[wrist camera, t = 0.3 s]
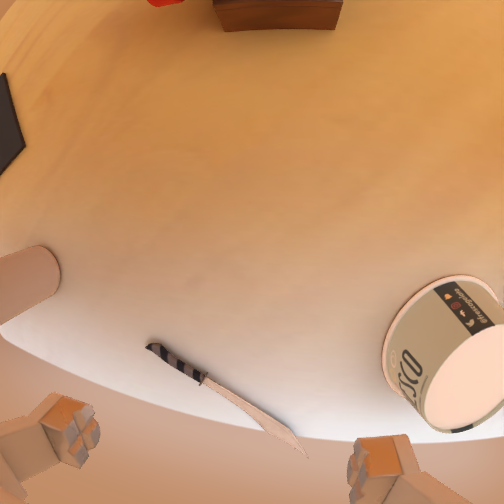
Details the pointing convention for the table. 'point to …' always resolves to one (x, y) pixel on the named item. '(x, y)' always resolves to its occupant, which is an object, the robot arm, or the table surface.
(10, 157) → the mat
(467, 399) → the food container
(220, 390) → the knife
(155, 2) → the container
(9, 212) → the table surface
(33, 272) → the beverage can
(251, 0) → the cradle
